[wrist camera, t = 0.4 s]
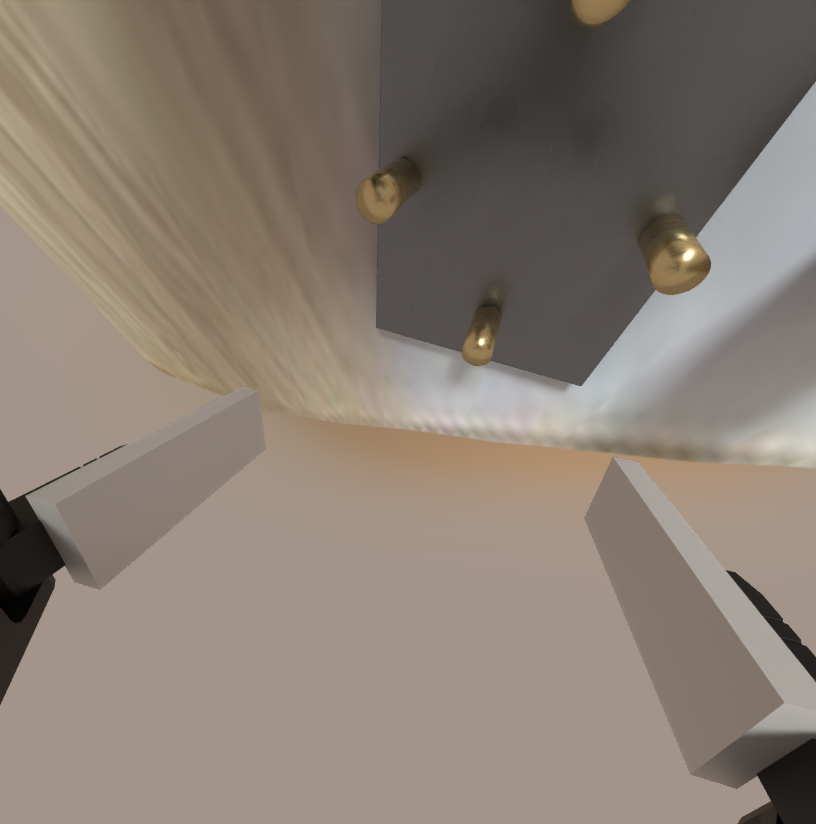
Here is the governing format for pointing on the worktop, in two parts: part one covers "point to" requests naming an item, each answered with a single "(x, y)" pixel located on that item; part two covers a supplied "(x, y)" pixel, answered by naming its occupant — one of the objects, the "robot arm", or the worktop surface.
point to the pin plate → (565, 161)
